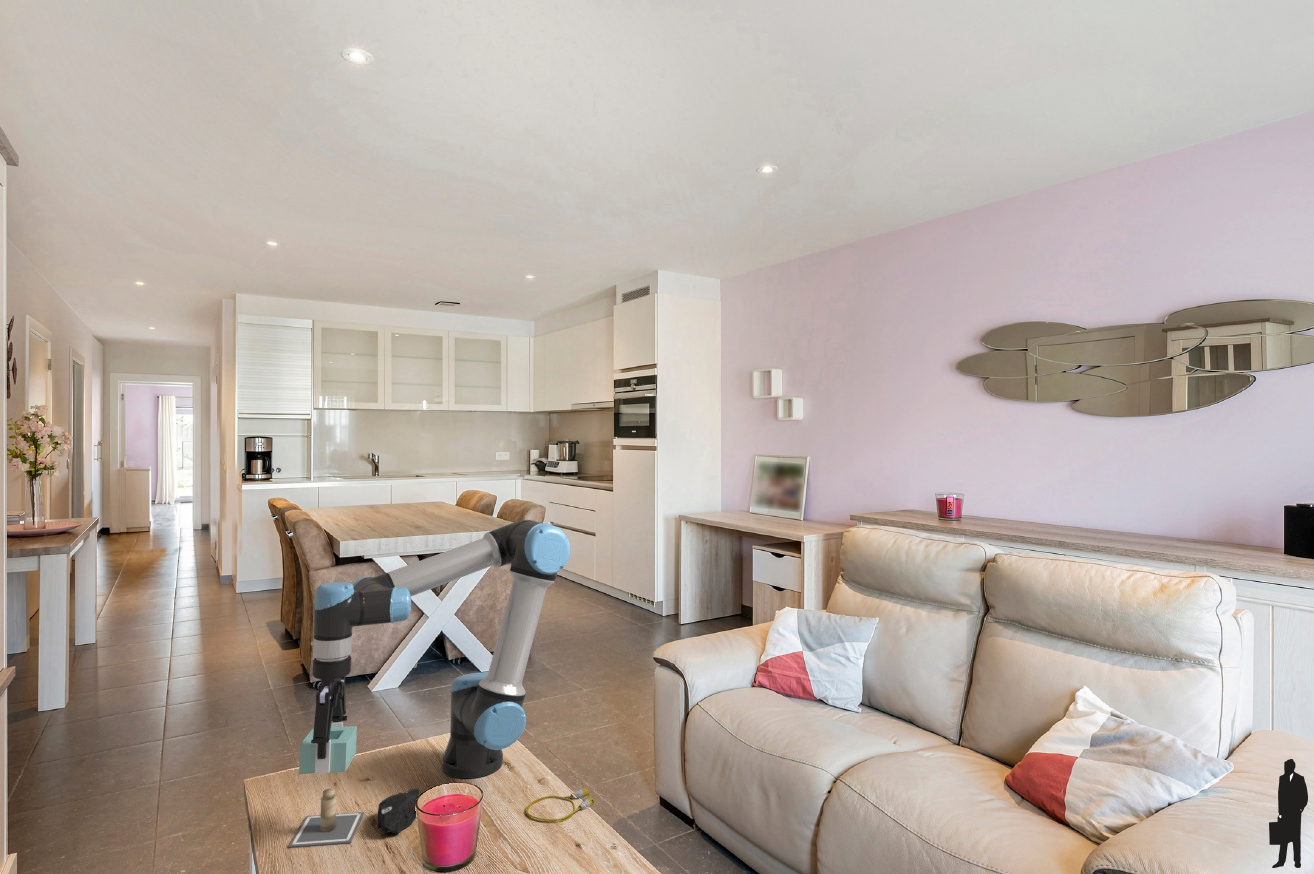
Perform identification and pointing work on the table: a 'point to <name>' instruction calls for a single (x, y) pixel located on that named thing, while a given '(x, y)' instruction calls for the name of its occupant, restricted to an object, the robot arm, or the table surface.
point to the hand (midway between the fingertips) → (328, 762)
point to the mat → (314, 837)
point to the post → (328, 811)
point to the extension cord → (578, 794)
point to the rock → (397, 811)
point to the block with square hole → (339, 753)
